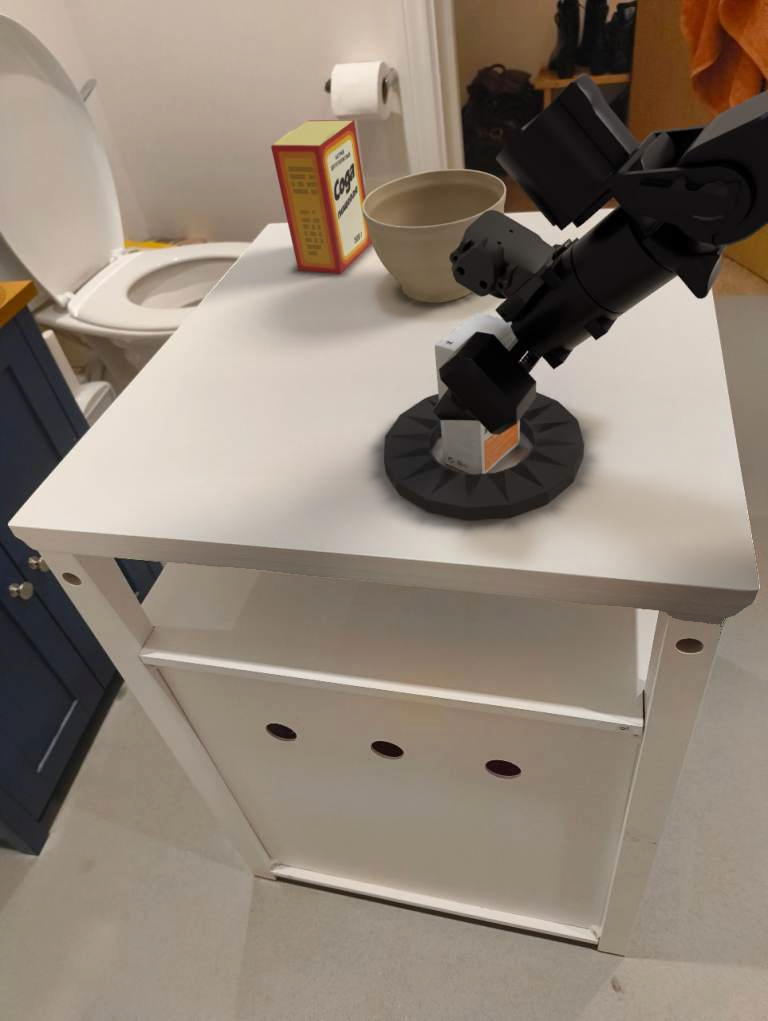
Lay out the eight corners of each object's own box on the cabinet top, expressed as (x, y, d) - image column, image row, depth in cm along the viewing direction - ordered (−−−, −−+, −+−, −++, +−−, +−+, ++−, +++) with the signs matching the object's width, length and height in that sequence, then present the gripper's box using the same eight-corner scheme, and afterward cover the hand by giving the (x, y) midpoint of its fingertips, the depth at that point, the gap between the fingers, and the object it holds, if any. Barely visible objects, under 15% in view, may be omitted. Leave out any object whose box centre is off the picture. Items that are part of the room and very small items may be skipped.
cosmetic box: (482, 481, 63) (476, 359, 55) (442, 464, 65) (431, 344, 57) (522, 443, 66) (522, 322, 58) (483, 428, 68) (477, 310, 60)
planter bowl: (361, 275, 95) (347, 188, 88) (479, 246, 97) (475, 159, 89) (395, 331, 83) (382, 237, 76) (529, 297, 85) (529, 202, 78)
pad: (566, 390, 71) (566, 377, 70) (597, 512, 58) (598, 498, 57) (389, 405, 73) (387, 393, 72) (382, 527, 60) (380, 513, 59)
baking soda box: (330, 239, 104) (308, 117, 94) (372, 242, 102) (353, 116, 91) (298, 270, 99) (270, 142, 88) (341, 273, 96) (317, 143, 85)
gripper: (574, 133, 53) (449, 261, 66) (456, 241, 42) (333, 371, 55) (672, 251, 55) (531, 354, 67) (583, 384, 44) (435, 478, 56)
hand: (463, 383), depth 61 cm, fingers open, 9 cm apart
